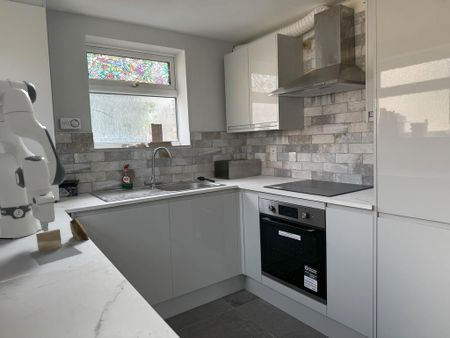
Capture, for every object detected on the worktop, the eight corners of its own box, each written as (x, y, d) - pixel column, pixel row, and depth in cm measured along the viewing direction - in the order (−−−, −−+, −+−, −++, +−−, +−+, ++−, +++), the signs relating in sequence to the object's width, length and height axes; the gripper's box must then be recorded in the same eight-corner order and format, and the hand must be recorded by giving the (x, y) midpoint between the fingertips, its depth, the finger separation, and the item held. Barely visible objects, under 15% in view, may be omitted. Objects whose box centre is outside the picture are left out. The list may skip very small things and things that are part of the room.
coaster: (38, 251, 122) (36, 234, 122) (60, 245, 128) (58, 228, 127) (39, 252, 121) (36, 234, 120) (62, 246, 126) (59, 229, 126)
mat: (28, 253, 122) (28, 252, 122) (67, 243, 131) (67, 242, 131) (40, 266, 108) (40, 265, 108) (82, 254, 117) (82, 252, 117)
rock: (66, 232, 140) (60, 235, 130) (77, 215, 141) (72, 217, 132) (88, 244, 142) (84, 248, 132) (99, 227, 143) (95, 230, 134)
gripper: (25, 196, 132) (30, 228, 134) (37, 200, 117) (42, 237, 118) (42, 193, 136) (47, 225, 138) (55, 197, 121) (60, 232, 123)
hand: (45, 230), depth 128 cm, fingers closed
